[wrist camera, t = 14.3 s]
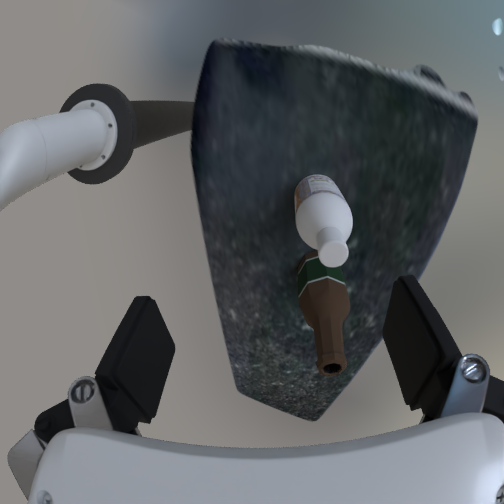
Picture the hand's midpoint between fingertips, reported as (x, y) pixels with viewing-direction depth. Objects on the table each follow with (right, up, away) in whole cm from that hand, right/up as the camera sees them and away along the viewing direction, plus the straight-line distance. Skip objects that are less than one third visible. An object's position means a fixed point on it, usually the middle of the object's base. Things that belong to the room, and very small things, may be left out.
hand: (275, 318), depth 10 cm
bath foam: (+9, +12, +32) cm, 35 cm away
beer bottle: (+11, +1, +39) cm, 40 cm away
